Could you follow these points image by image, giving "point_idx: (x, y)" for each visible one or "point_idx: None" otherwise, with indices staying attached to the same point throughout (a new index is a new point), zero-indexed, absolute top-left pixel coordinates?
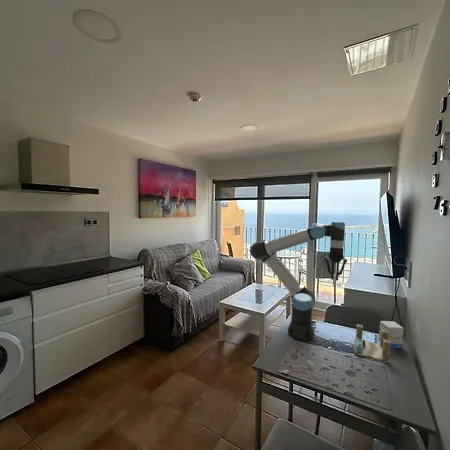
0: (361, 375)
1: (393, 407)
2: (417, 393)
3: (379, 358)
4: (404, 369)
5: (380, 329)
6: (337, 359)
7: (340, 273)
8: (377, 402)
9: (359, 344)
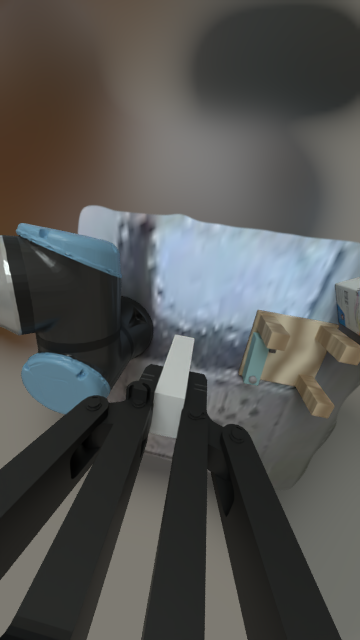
0: None
1: None
2: (309, 448)
3: (287, 384)
4: None
5: (358, 298)
6: None
7: (222, 479)
8: None
9: (252, 381)
